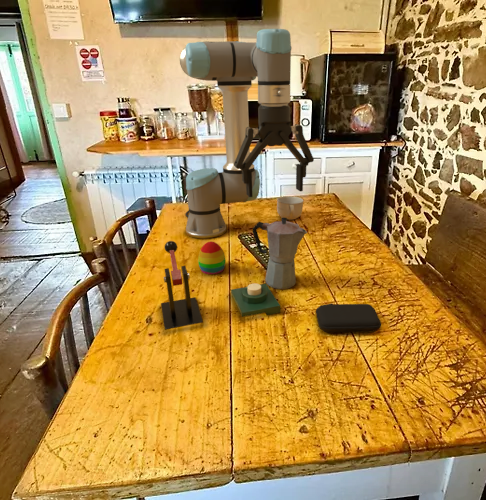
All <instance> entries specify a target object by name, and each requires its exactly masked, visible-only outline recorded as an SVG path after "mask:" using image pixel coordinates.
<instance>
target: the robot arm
mask: <svg viewBox="0 0 486 500" xmlns="http://www.w3.org/2000/svg"><path fill="white" fill-rule="evenodd" d="M291 39H292V37H291V32H290V31H289V30H288V29H286V28H264V29H259V30H258V31H257V33H256V40H255V41H256V42H254V41H253V42H252V41H251V42H249V41H248V42H247V41H238V40H235V41H234V40H233V41H230V40H229V41H207V40H206V41H205V40H204V41H196V42H188V43H187V44H186V45H185V47H184V48H183V49H182V50H181V52H180V55H179V64H180V68H181V70H182V71H183V73H184V74H185V75H187V77H190V78H192V79H196V80H200V81H207V82H208V81H209V82H216V83H217V88H218V89H219V90H220V91H221V92H222V107H223V122H224V124H223V125H224V136H225V137H224V139H225V141H224V142H225V157H226V162H225V163H224V165H223V166H222V171H218V169H217V168H214V167H207V168H200V169H196V170H194V171H192V172H190V173H188V174H187V175H186V177H185V190H186V195H187V198H185V196H183V195H179V196H178V200H179V199H183V200H184V201H185V202H186V203H187V204H188V206H187V207H188V210H187V211H186V213H184V214H185V215H184V216H185V217H186V218H187V220H186V225H185V226H186V227H185V234H186V235H187V236H188V237H191V238H193V239H202V240H203V239H205V240H206V239H212V238H217V237H220V236H222V235H225V233H226V232H227V224H226V222H225V219H224V217H223V214H222V211H221V205H226V204H237V203H247V202H252V201H255V200H256V199H257V198H258V196H259V193H260V188H261V178H260V172H259V171H258V169H256V168H255V164H254V162H255V161H256V160H257V159H258V157H259V156H260V154H261V153H262V152H263V151H264V149H266V147H267V146H269V147H274V146H278V147H279V146H283V145H284V146H285V147H286V148H287V150H288V151H289V152H290V153H291V154H292V155H293V157H294V158H295V159H296V161H297V162H298V163H296V165H295V167H296V168H295V189H296V190H297V191H299V192H304V178H306V177H307V167H308V166H309V165H310V163H313V162H314V159H315V158H314V156H313V154H312V152H311V149H310V146H309V145H308V143H307V140H306V138H305V136H304V135H305V134H304V128H303V125H301V124H298V123H295V124H294V125H291V107H290V105H289V104H290V103H291V73H292V71H291V66H292V64H291V63H292V61H291V60H292V55H291V54H292V49H293V48H292V42H291ZM256 79H257V103H258V104H259V106H258V108H257V109H258V110H257V111H258V113H257V114H258V126H257V127H256V128H254V127H250V124H249V123H250V122H249V121H250V120H249V97H248V95H249V94H248V91H249V90H250V89H251V87H252V86H253V83H252V81H255V80H256ZM291 133H292V135H294V136H295V138H296V140H297V143H298V145H299V148H300V149H301V152H302V153H301V152H300V151H299V149H298V148H297V147H296V146H295V145H294V143H293V142H292V140H291V139H290V138H289V136H290V135H291ZM257 135H258V136H259V139H258V140H257V142H256V144H255V146H254V147H253V149H252V150H251V148H250V147H251V145H252V143H253V140H254V138H255V137H256V136H257Z"/></svg>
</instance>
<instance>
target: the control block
mask: <svg viewBox="0 0 486 500" xmlns="http://www.w3.org/2000/svg"><path fill="white" fill-rule="evenodd" d="M259 284H260V283H259ZM260 285H261V294H260V295H256V296H253V295H249V294H248V291H247V287H248V285H247V286H244V287H243V286H242V287H239V288H233V289H232V288H231V289H230V295H231V297H232V299H233V301H234V303H235V305H236V307H237V309H238V312H239V313H240V315H241V317H242V318H245V317H249V316H256V315H260V314H266V316H271V315H276V314H280V313H281V304H280V303H279V301H278V299H277V298H276V297H275V295H274V293H273V292H272V291H271V289H270V288H269V285H267V283H261V284H260Z"/></svg>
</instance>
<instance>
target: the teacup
mask: <svg viewBox="0 0 486 500" xmlns="http://www.w3.org/2000/svg"><path fill="white" fill-rule="evenodd" d="M303 209H304V199H303V198H301V197H298V196H291V195H285V196H284V195H283V196H278V197H277V199H276V211H277V215H278V216H280V218H281V219H282V218H287V221H290V220H291V221H293V220H296V219H298V218H299V217H301V215H302V213H303Z"/></svg>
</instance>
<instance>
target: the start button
mask: <svg viewBox="0 0 486 500" xmlns="http://www.w3.org/2000/svg"><path fill="white" fill-rule="evenodd" d="M247 286H248V287H247ZM247 286H246V287H247V291H248V294H249V295H253V296H256V295H260V294H261V285H260V283H255V282H254V283H253V282H252V283H250V284H248V285H247Z"/></svg>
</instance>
